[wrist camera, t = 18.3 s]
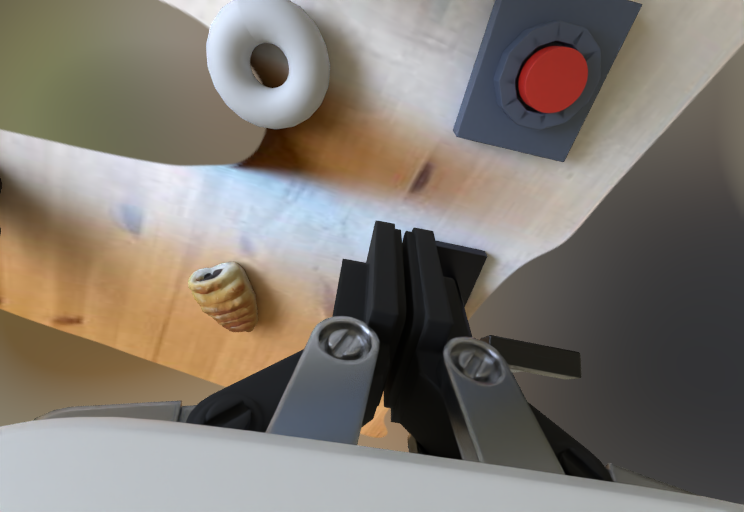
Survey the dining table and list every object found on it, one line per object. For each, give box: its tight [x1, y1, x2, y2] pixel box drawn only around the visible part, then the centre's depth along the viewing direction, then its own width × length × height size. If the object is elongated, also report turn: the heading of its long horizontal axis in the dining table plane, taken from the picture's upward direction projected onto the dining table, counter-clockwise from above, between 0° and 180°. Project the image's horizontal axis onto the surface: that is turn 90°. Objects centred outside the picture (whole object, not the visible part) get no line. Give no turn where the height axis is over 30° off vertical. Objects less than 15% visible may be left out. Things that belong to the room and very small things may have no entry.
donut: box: [206, 0, 330, 129], centre depth 31 cm, size 10×4×10 cm
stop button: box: [518, 46, 588, 113], centre depth 28 cm, size 4×4×2 cm
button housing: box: [453, 0, 642, 162], centre depth 30 cm, size 12×10×4 cm
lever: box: [480, 335, 581, 379], centre depth 27 cm, size 16×5×2 cm
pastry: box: [188, 262, 258, 332], centre depth 44 cm, size 9×7×4 cm
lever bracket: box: [435, 241, 487, 337], centre depth 38 cm, size 12×9×15 cm
